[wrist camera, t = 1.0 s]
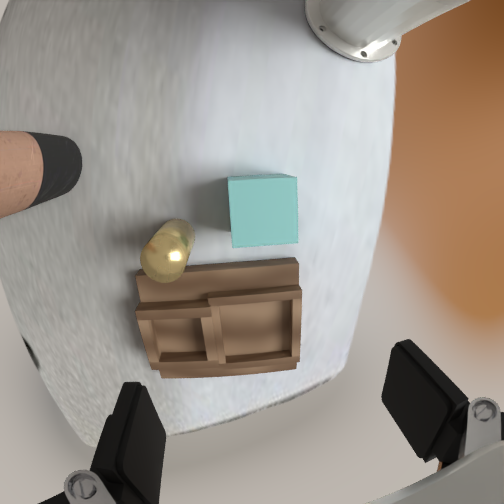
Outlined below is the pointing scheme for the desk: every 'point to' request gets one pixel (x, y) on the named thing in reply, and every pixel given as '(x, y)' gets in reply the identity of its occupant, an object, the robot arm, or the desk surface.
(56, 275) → the desk surface
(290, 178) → the block
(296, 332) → the organizer
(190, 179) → the desk surface
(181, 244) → the peg
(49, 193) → the travel mug
